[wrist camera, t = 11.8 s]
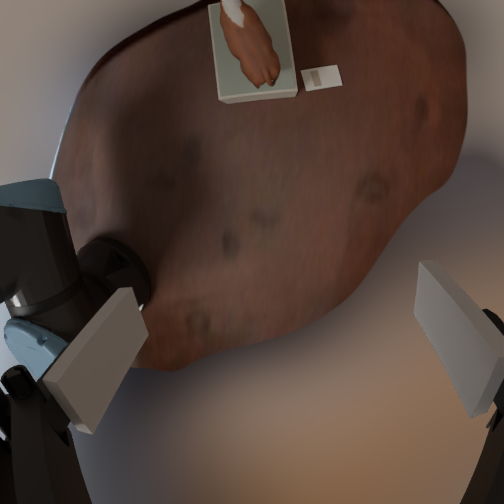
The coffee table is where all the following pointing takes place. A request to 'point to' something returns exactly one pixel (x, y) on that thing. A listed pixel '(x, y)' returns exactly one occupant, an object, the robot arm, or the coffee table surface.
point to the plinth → (228, 67)
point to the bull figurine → (249, 42)
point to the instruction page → (321, 77)
